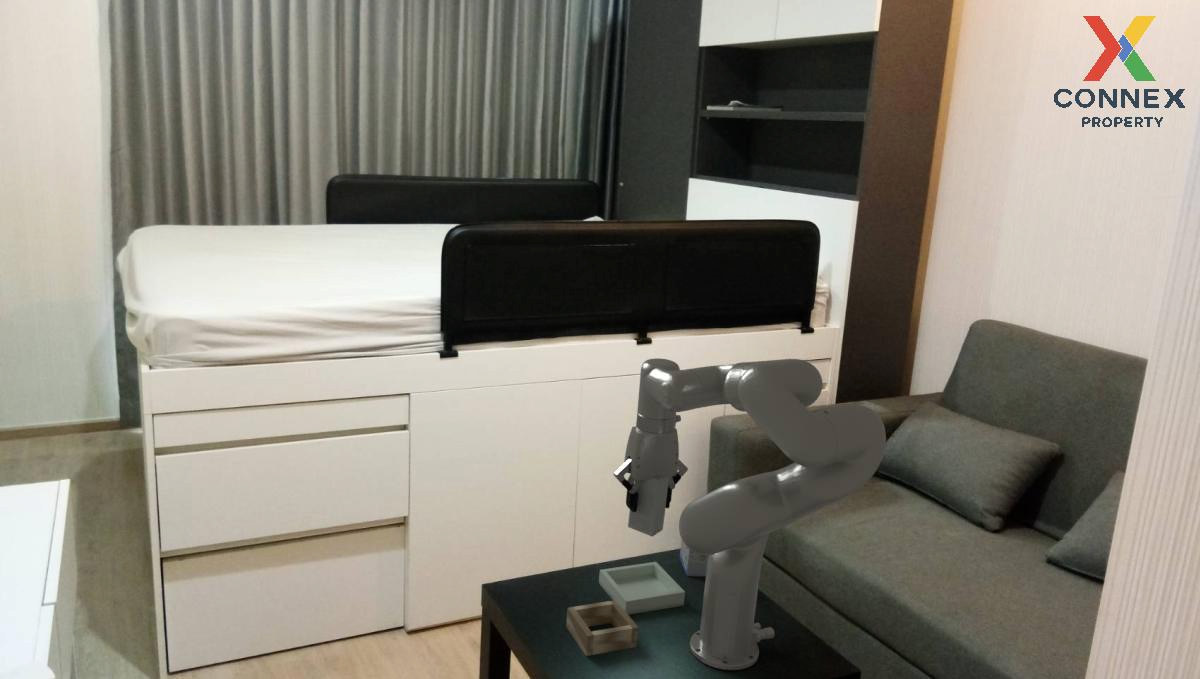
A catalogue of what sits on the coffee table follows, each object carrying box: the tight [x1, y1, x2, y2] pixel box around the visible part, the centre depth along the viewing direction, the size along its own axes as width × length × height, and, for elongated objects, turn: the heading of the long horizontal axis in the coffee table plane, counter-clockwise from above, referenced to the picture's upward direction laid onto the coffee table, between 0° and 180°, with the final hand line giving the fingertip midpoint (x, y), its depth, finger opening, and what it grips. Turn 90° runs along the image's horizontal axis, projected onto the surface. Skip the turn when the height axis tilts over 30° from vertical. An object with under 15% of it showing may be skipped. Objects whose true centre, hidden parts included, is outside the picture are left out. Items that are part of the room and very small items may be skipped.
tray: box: [598, 561, 686, 616], centre depth 186 cm, size 13×13×3 cm
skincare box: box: [627, 477, 669, 537], centre depth 181 cm, size 6×4×12 cm
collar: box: [565, 600, 639, 657], centre depth 170 cm, size 10×10×4 cm
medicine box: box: [679, 539, 709, 577], centre depth 198 cm, size 8×4×9 cm, turn 6°
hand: (648, 506), depth 182 cm, fingers closed on skincare box, 6 cm apart
